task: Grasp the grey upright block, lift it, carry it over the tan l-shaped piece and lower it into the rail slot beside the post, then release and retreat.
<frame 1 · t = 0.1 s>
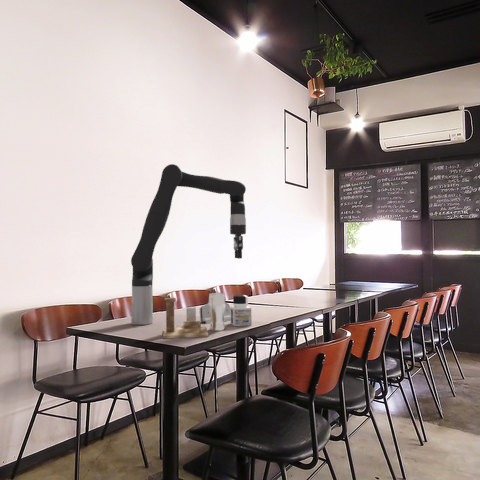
hand: (238, 258, 197), 29 cm above the table, fingers open, 8 cm apart
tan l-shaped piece: (186, 333, 165), on the table
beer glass: (217, 330, 172), on the table
container: (240, 324, 184), on the table
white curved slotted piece: (216, 321, 195), on the table
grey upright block: (191, 326, 181), on the table
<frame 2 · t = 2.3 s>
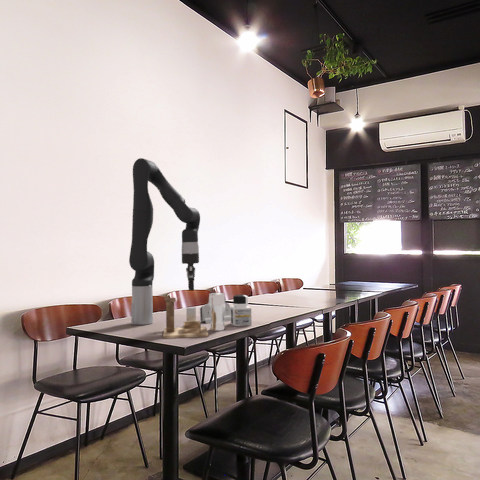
hand: (191, 289, 182), 16 cm above the table, fingers open, 8 cm apart
nothing on the table moved.
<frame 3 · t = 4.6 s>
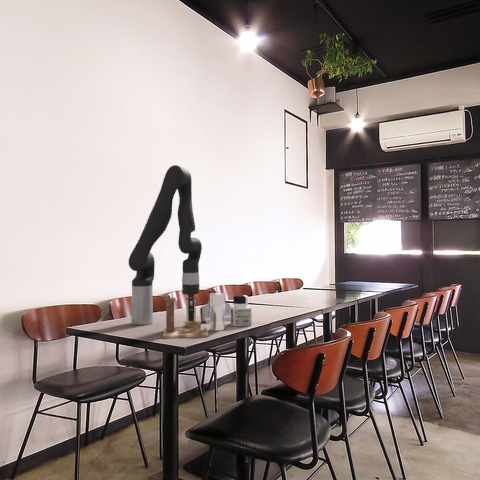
hand: (191, 322, 181), 2 cm above the table, fingers closed on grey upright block, 4 cm apart
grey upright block: (191, 326, 181), on the table, touching gripper
everything else where it was.
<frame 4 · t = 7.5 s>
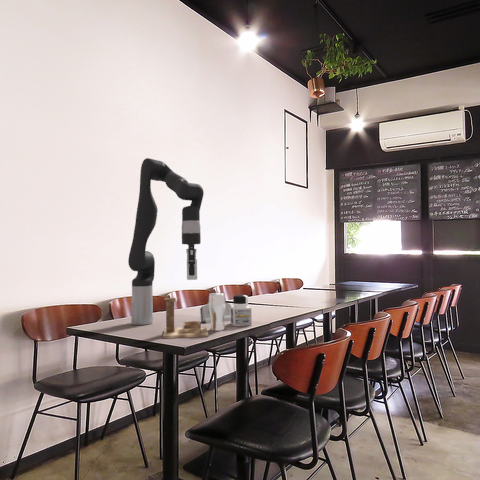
hand: (191, 274, 166), 23 cm above the table, fingers closed on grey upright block, 4 cm apart
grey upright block: (192, 279, 166), point 21 cm above the table, touching gripper
everything else where it was.
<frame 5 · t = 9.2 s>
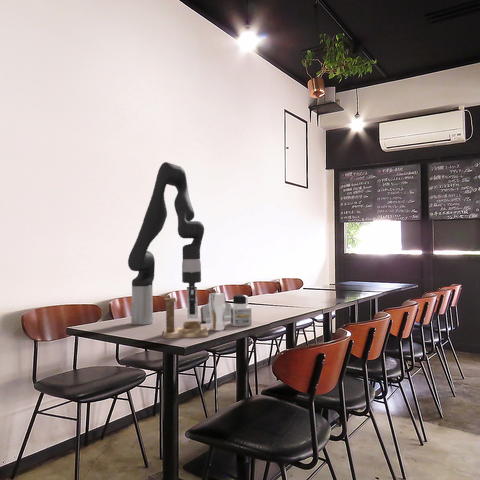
hand: (192, 313, 166), 8 cm above the table, fingers closed on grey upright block, 4 cm apart
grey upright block: (192, 317, 166), point 6 cm above the table, touching gripper
everything else where it was.
when the fingers open (4 cm above the table, at t = 10.5 s): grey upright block drops 1 cm, resting on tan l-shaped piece.
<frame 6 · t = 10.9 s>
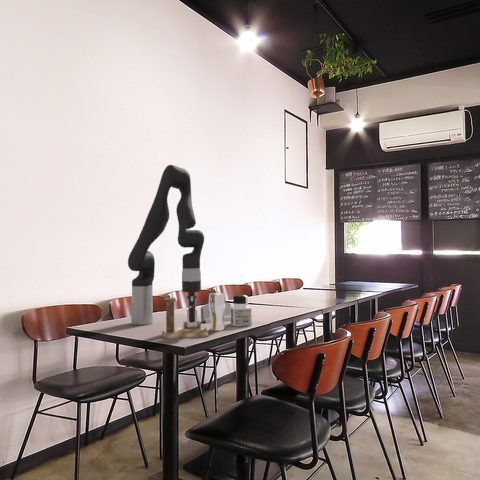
hand: (191, 320, 165), 5 cm above the table, fingers open, 8 cm apart
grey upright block: (192, 330, 165), point 1 cm above the table, touching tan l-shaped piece
everything else where it was.
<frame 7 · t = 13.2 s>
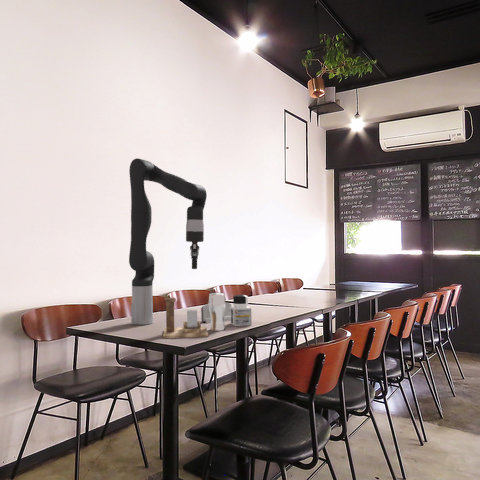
hand: (194, 268, 177), 25 cm above the table, fingers open, 8 cm apart
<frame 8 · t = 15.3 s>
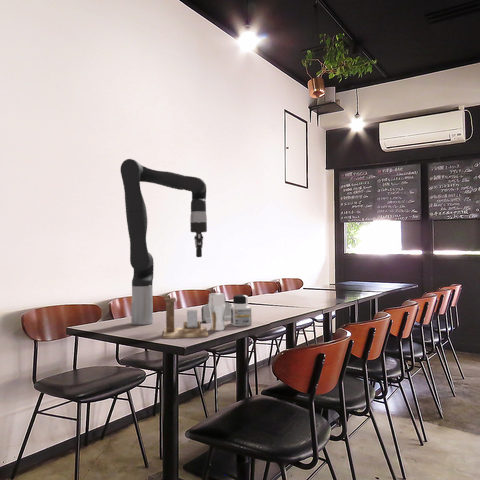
hand: (198, 257, 190), 30 cm above the table, fingers open, 8 cm apart
at the end: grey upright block 0.1 cm from the target spot on the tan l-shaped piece, point 1.0 cm above the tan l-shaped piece's base; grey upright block tilted 0°; the gripper is holding nothing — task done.
